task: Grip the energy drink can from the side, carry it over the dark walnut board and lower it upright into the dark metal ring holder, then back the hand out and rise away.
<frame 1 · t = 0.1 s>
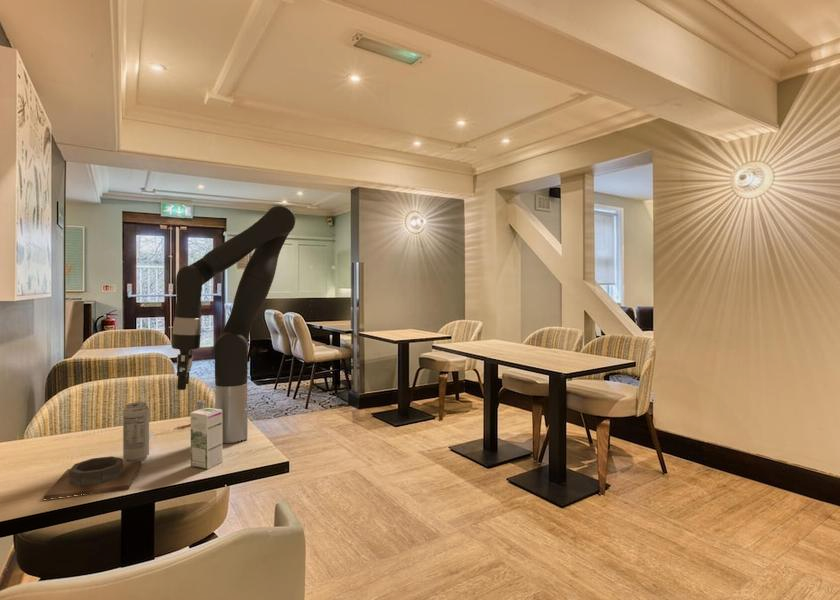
hand: (183, 386, 137), 17 cm above the table, tool pointing down, fingers open, 8 cm apart
energy drink can: (136, 459, 125), on the table
can holder: (97, 480, 111), on the table
butter knife: (149, 444, 139), on the table
rook chess piece: (200, 423, 159), on the table
syrup box: (206, 465, 122), on the table
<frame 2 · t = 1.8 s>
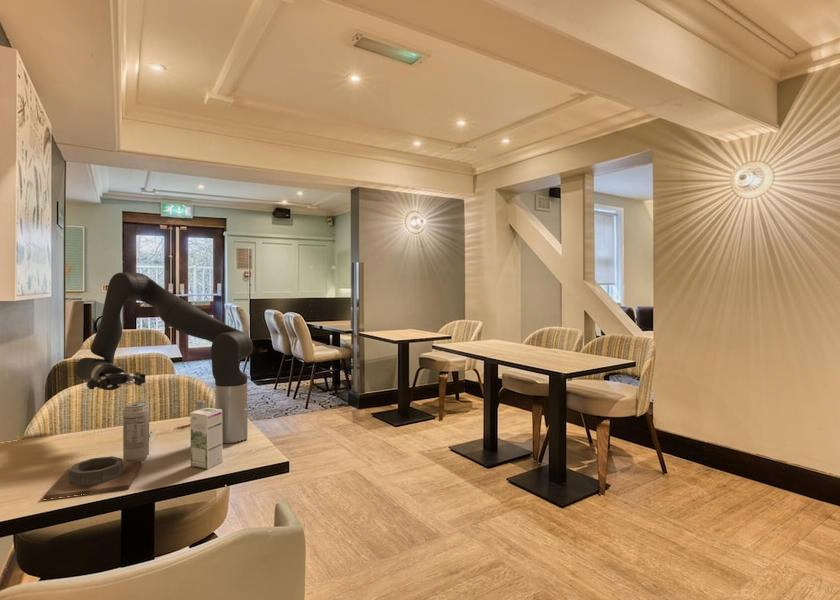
hand: (123, 384, 132), 19 cm above the table, tool horizontal, fingers open, 8 cm apart
nothing on the table moved.
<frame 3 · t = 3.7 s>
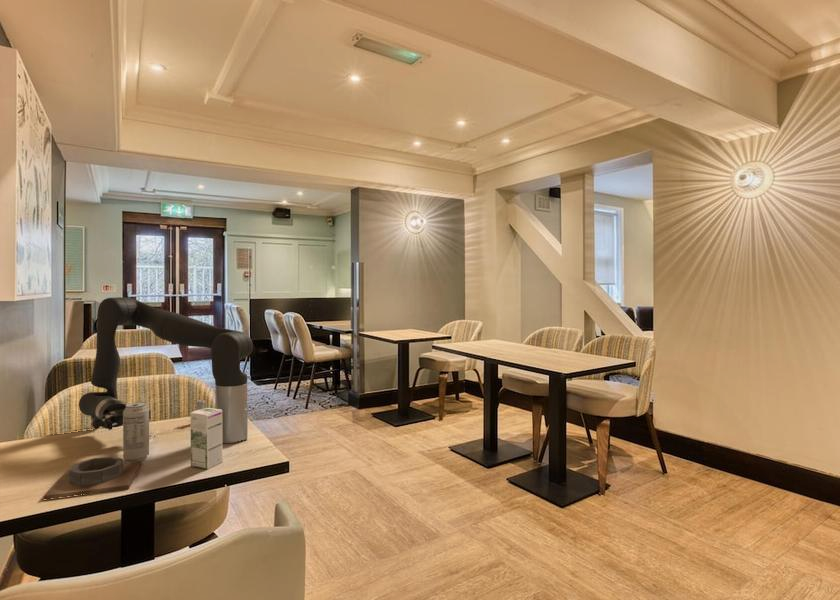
hand: (128, 422, 130), 8 cm above the table, tool horizontal, fingers open, 8 cm apart
nothing on the table moved.
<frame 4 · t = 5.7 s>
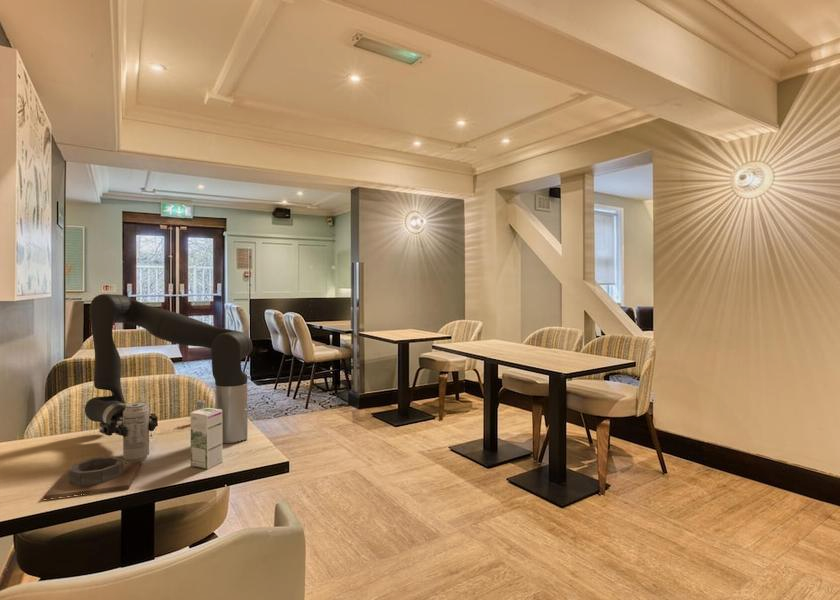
hand: (139, 429, 123), 9 cm above the table, tool horizontal, fingers closed on energy drink can, 6 cm apart
energy drink can: (136, 459, 125), on the table, touching gripper
everything else where it was.
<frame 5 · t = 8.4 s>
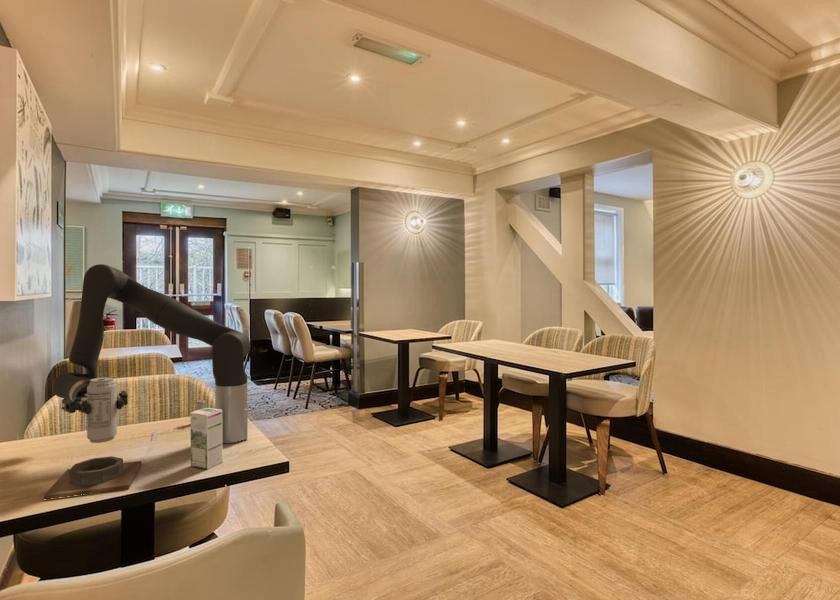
hand: (104, 407, 111), 18 cm above the table, tool horizontal, fingers closed on energy drink can, 6 cm apart
energy drink can: (102, 440, 113), point 9 cm above the table, touching gripper
when the fingers open (11 cm above the table, at t = 10.9 s): energy drink can drops 1 cm, resting on can holder.
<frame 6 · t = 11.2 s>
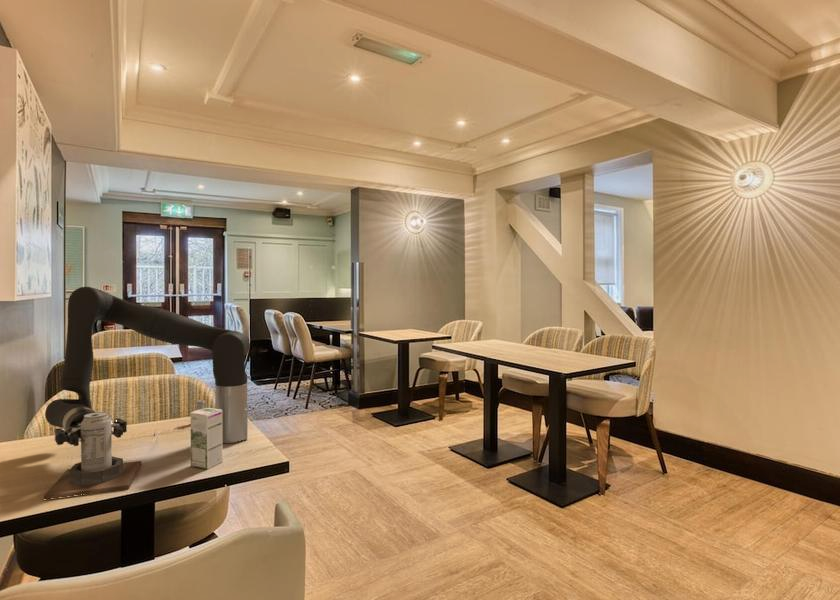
hand: (98, 437, 109), 11 cm above the table, tool horizontal, fingers open, 8 cm apart
energy drink can: (96, 477, 111), point 1 cm above the table, touching can holder
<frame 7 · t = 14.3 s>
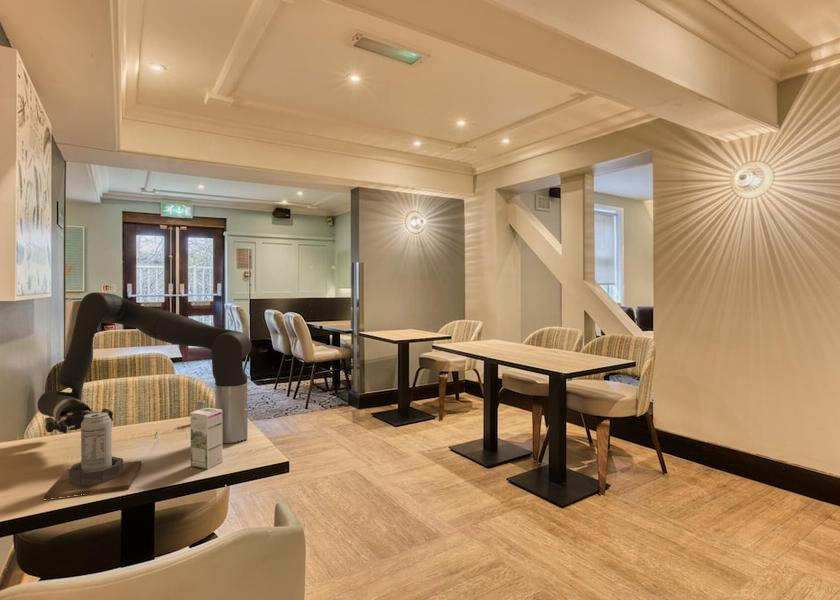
hand: (85, 425, 118), 11 cm above the table, tool horizontal, fingers open, 8 cm apart
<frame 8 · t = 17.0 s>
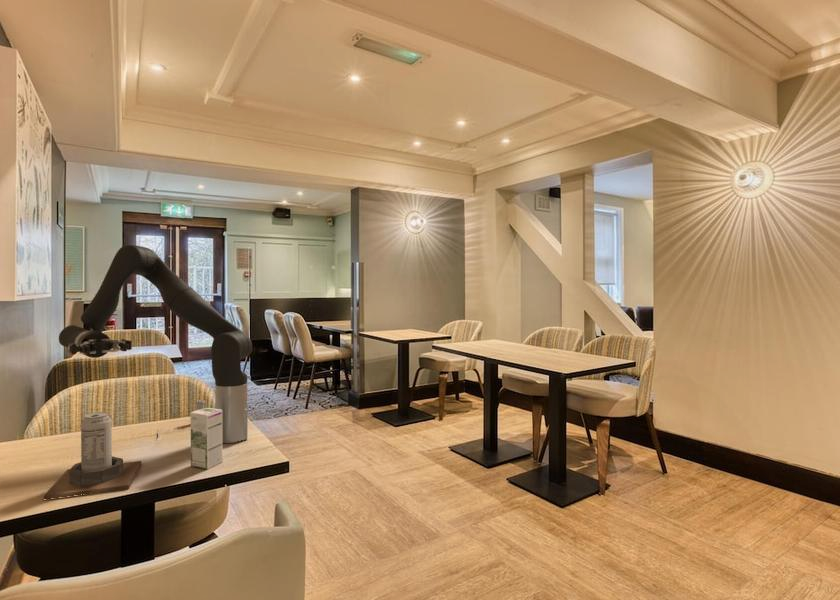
hand: (107, 348, 125), 30 cm above the table, tool horizontal, fingers open, 8 cm apart
at the end: energy drink can 0.2 cm off-centre on the can holder, point 0.8 cm above the can holder's base; energy drink can tilted 0°; the gripper is holding nothing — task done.
